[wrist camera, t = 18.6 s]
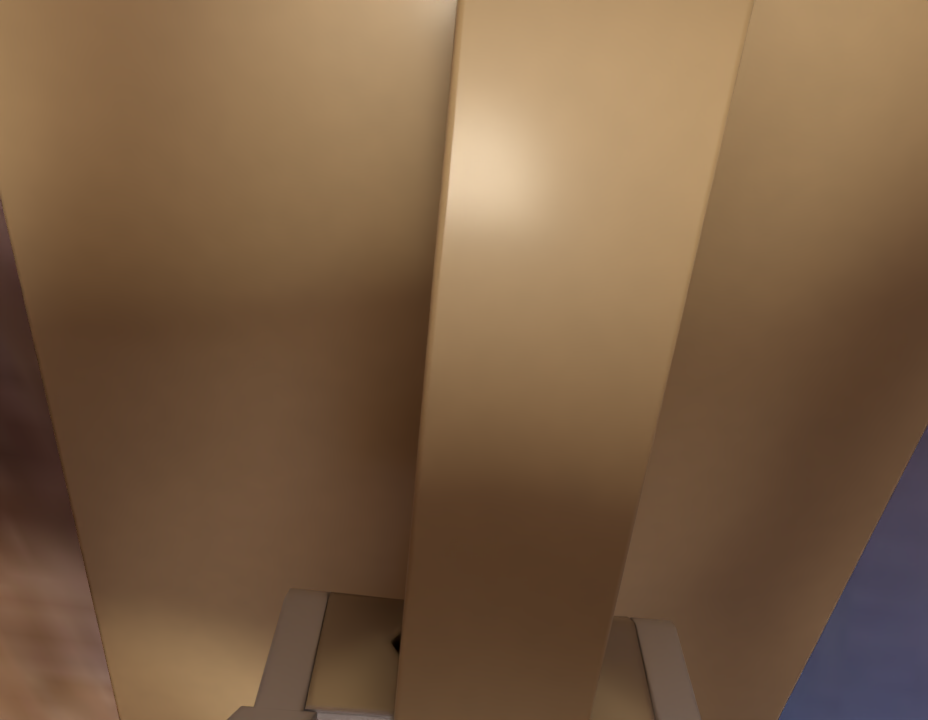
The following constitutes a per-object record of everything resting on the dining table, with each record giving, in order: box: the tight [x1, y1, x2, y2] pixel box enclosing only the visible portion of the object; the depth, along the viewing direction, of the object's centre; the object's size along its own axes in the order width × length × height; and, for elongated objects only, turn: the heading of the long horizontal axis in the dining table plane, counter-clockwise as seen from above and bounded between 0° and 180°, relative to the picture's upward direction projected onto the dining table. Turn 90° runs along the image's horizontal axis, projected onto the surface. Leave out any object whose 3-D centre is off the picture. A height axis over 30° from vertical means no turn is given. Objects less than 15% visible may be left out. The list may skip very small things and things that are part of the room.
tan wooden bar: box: [394, 0, 755, 720], centre depth 9 cm, size 18×5×3 cm, turn 174°
